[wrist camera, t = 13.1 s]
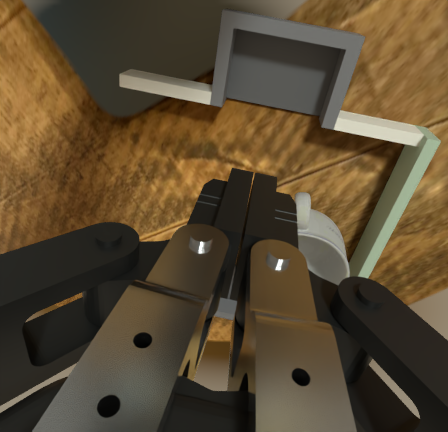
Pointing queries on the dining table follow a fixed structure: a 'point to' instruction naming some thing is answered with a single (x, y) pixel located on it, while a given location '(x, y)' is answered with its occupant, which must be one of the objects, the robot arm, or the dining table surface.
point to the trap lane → (302, 104)
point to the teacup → (320, 242)
